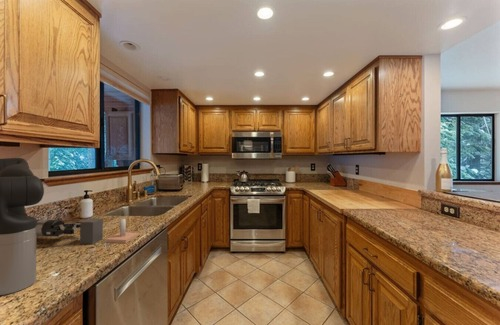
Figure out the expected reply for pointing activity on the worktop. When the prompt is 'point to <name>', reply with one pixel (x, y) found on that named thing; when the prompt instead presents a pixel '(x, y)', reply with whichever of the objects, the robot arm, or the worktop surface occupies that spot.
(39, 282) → the worktop surface
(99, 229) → the dark grey upright block
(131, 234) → the shaft plate
